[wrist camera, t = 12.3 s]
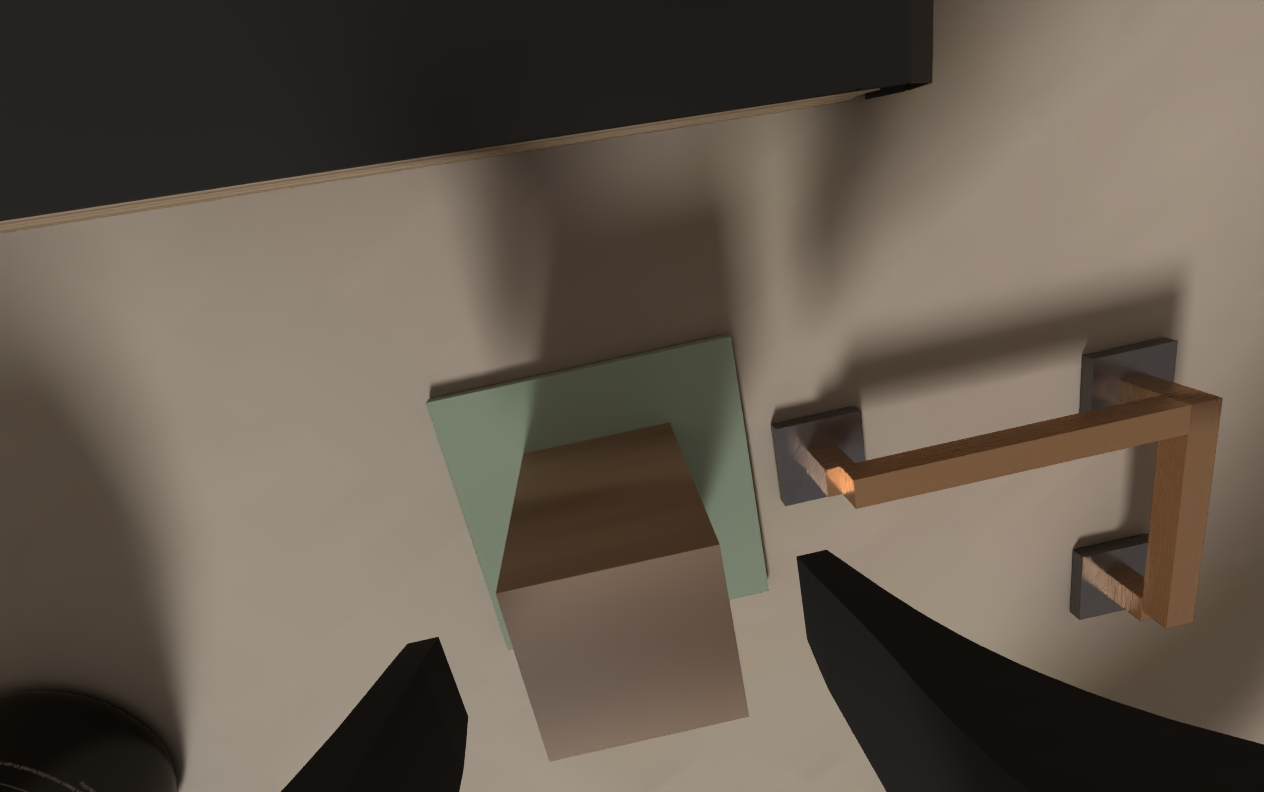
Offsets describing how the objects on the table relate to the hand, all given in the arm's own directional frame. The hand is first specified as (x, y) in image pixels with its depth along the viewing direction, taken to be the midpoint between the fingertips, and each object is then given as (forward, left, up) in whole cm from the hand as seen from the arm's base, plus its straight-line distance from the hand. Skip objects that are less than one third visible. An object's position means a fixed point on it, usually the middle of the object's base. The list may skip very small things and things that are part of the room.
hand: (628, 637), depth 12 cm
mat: (0, 0, -6) cm, 6 cm away
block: (0, 0, -5) cm, 5 cm away
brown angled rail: (-3, -11, -6) cm, 12 cm away
